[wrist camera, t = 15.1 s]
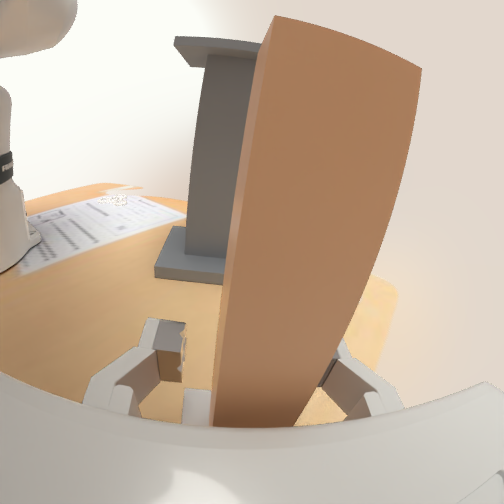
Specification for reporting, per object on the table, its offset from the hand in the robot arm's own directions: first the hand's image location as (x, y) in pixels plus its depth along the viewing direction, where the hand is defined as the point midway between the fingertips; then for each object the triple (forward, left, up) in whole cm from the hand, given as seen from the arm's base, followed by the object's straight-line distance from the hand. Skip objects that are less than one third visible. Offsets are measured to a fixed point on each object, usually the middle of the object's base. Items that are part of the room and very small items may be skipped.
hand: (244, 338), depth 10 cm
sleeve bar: (+3, -3, -1) cm, 4 cm away
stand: (-17, +17, -10) cm, 27 cm away
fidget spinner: (-48, +15, -11) cm, 52 cm away
